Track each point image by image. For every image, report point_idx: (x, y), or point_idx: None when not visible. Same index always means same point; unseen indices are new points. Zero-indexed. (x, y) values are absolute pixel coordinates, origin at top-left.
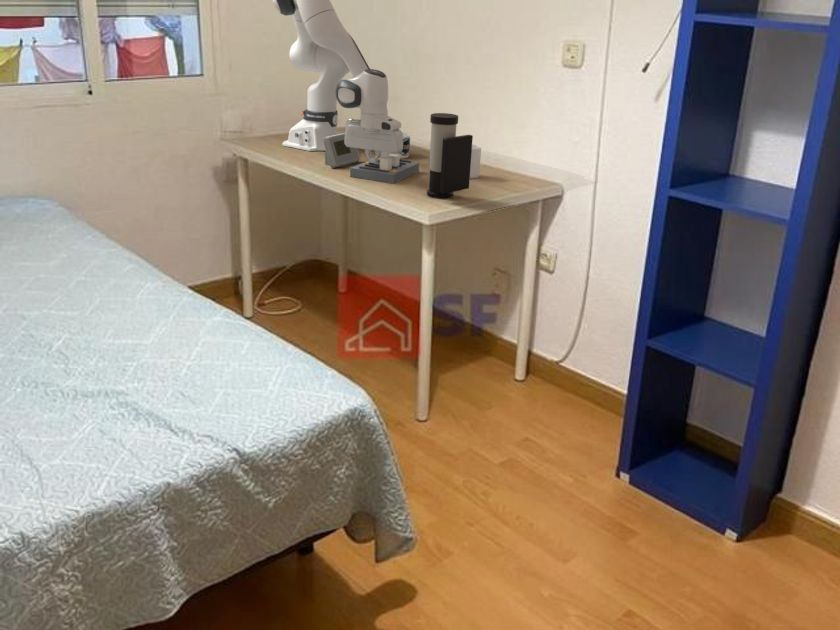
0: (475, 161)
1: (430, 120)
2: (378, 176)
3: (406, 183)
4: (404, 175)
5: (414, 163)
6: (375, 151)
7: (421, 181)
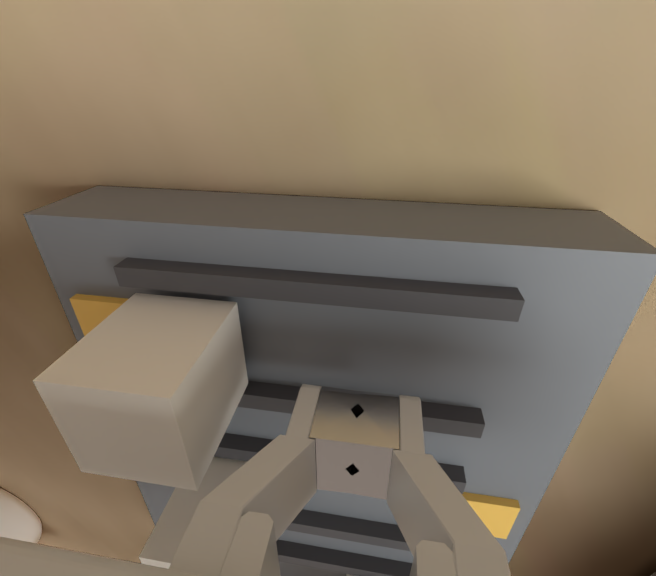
0: None
1: None
2: (231, 208)
3: (37, 249)
4: None
5: None
6: (248, 567)
7: (26, 349)
